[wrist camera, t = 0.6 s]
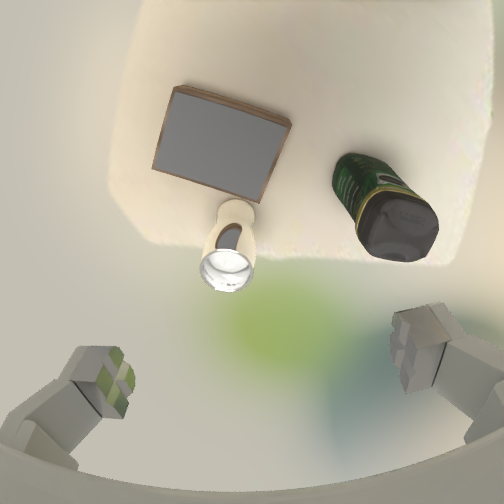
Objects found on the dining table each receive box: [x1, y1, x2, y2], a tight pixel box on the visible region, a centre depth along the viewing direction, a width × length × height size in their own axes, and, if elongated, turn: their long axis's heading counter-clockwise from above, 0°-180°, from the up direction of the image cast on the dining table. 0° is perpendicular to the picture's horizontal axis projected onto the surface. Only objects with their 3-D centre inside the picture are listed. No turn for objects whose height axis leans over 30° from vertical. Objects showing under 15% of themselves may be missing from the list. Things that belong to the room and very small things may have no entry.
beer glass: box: [200, 199, 256, 292], centre depth 44 cm, size 7×7×15 cm
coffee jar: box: [332, 154, 439, 262], centre depth 38 cm, size 10×8×19 cm
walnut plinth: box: [152, 85, 292, 204], centre depth 41 cm, size 12×16×5 cm
